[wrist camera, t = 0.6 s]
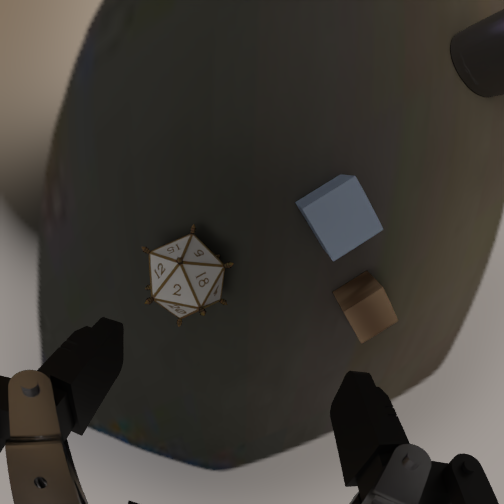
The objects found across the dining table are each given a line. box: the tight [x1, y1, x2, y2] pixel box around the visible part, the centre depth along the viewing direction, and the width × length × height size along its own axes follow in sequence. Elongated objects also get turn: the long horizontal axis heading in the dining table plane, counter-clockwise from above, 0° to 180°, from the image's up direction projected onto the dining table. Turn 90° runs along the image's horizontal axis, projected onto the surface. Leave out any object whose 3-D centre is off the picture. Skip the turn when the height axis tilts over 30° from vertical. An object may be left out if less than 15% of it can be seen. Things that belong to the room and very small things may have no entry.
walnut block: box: [332, 271, 398, 344], centre depth 31 cm, size 4×4×5 cm
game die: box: [142, 224, 234, 327], centre depth 29 cm, size 9×8×10 cm
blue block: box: [295, 174, 383, 261], centre depth 28 cm, size 6×6×5 cm
